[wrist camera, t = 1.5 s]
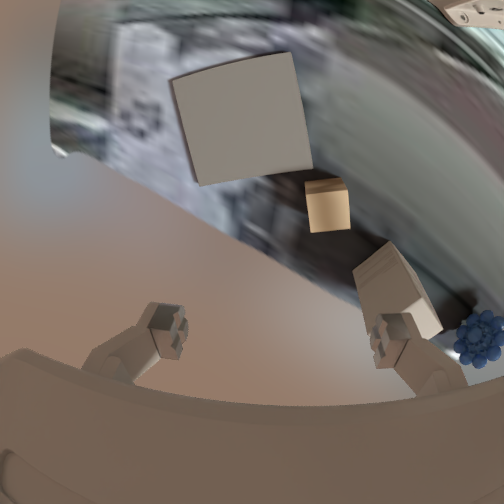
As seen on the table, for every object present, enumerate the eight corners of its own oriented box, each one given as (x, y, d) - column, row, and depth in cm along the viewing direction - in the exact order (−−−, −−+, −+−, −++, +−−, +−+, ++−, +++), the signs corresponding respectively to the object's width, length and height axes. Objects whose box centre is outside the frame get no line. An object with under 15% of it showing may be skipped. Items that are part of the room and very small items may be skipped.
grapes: (480, 286, 35) (510, 333, 25) (493, 300, 36) (519, 344, 26) (437, 329, 41) (456, 380, 31) (453, 339, 42) (471, 386, 32)
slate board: (290, 53, 25) (290, 51, 24) (312, 166, 31) (313, 168, 31) (175, 81, 28) (171, 80, 27) (201, 184, 35) (199, 186, 34)
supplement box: (377, 297, 40) (395, 361, 29) (350, 269, 38) (365, 335, 27) (415, 270, 36) (444, 330, 26) (390, 238, 34) (422, 297, 24)
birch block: (340, 177, 32) (347, 190, 27) (343, 211, 34) (350, 228, 29) (304, 181, 33) (305, 194, 28) (309, 215, 35) (310, 232, 31)
